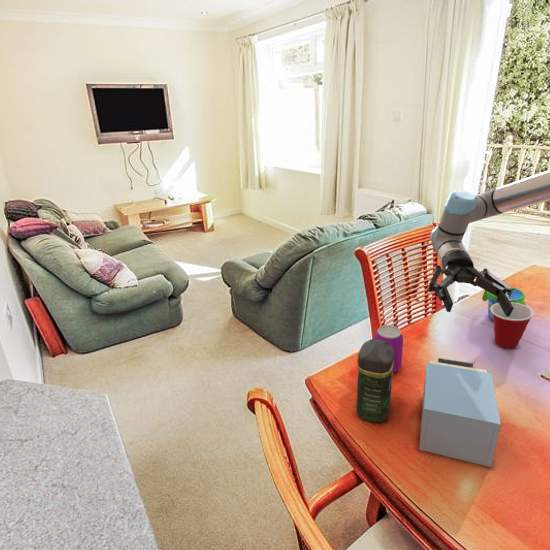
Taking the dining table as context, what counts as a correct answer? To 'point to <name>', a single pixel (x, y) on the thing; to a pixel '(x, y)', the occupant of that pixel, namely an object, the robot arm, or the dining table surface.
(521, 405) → the dining table surface
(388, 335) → the beverage can
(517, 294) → the snack cup
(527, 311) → the plastic cup
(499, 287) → the robot arm
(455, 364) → the drawer
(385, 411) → the coffee jar
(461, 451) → the cabinet
